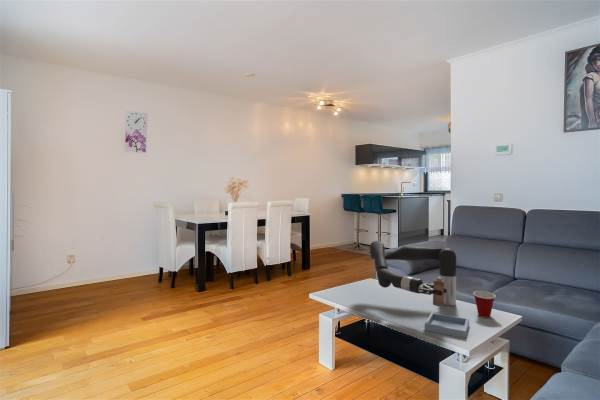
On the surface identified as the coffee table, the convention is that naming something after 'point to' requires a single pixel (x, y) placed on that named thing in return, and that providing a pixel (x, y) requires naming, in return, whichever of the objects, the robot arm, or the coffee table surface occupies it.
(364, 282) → the coffee table surface
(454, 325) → the bin
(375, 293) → the coffee table surface
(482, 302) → the plastic cup
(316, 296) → the coffee table surface
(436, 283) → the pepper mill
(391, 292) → the coffee table surface
